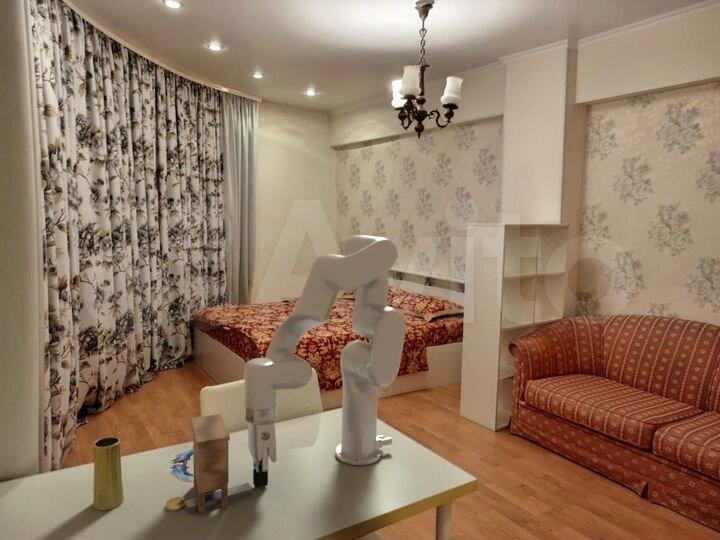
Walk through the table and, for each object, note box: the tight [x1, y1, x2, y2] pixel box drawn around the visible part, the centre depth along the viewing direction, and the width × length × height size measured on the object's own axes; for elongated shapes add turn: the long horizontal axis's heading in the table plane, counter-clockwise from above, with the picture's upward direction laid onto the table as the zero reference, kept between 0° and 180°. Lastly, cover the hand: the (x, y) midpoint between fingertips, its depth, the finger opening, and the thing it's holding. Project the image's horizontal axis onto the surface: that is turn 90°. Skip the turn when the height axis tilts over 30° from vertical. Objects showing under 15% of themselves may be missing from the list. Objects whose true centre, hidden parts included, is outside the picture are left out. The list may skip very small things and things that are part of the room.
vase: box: [92, 436, 125, 511], centre depth 107 cm, size 6×6×14 cm
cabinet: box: [190, 413, 231, 516], centre depth 110 cm, size 7×13×17 cm, turn 24°
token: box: [165, 496, 186, 513], centre depth 107 cm, size 4×4×1 cm
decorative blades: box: [170, 447, 194, 484], centre depth 126 cm, size 20×1×10 cm
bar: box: [184, 482, 254, 516], centre depth 109 cm, size 14×3×2 cm, turn 123°
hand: (260, 484), depth 116 cm, fingers closed
